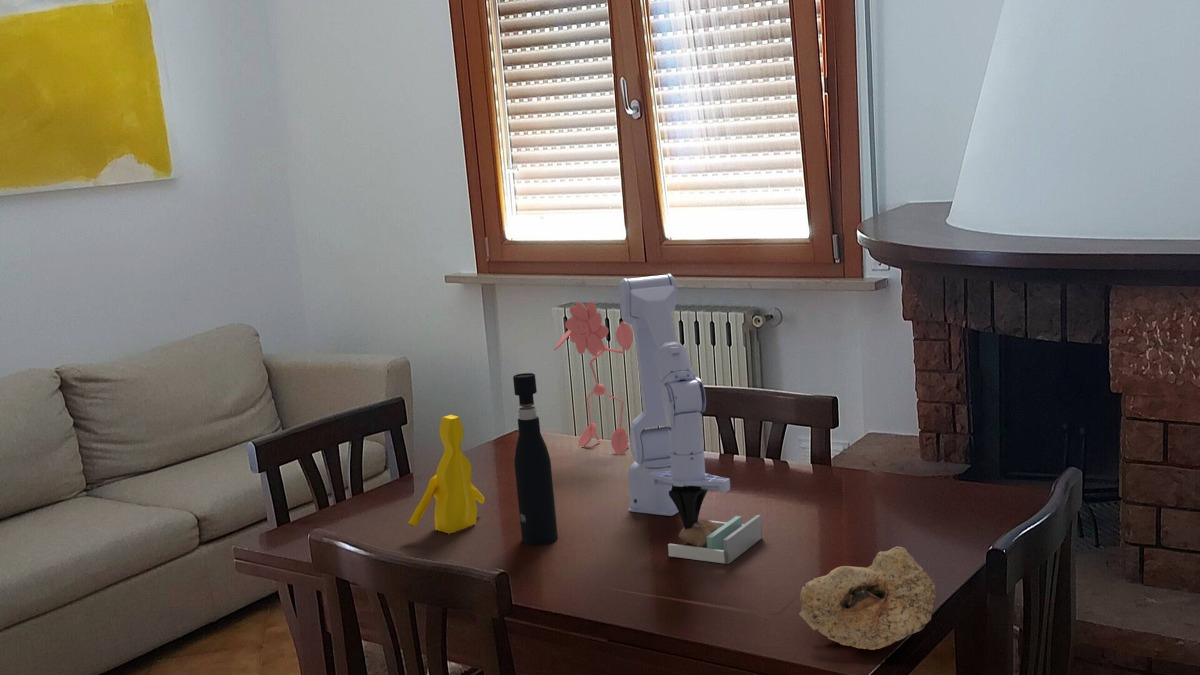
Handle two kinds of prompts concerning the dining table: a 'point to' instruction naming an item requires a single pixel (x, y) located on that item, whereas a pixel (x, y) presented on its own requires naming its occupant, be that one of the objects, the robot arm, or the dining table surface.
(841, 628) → the tan rock
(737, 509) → the dining table surface
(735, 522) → the panel
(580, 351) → the figurine
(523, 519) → the black water bottle
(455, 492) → the figure statuette
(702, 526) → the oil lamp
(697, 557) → the pusher lane
